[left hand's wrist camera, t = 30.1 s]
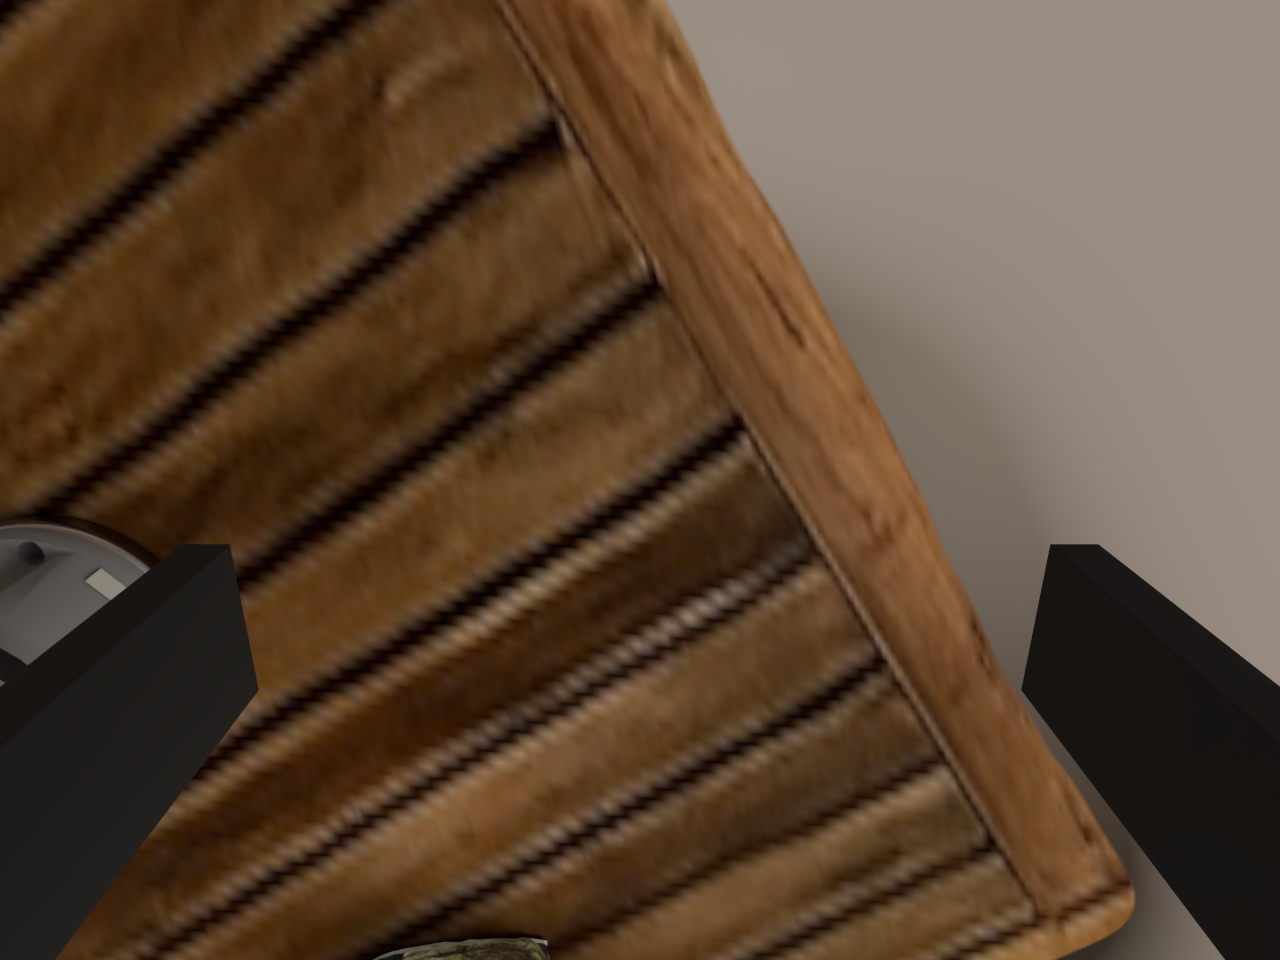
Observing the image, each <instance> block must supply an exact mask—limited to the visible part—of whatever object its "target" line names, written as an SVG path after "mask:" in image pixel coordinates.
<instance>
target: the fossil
mask: <svg viewBox="0 0 1280 960" xmlns="http://www.w3.org/2000/svg"><path fill="white" fill-rule="evenodd" d="M374 960H550V957H549V955H548V952H547V941H546V940H539V939H533V938H524V937H523V938H516V939H507V938H497V939H469V940H466V941H464V942H440V943H434V944H428V945H422V946H416V947H410V948H405V949H401V950H397V951H392V952H390V953H387V954H384V955H381V956H379V957H377V958H375V959H374Z"/></svg>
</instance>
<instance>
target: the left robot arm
mask: <svg viewBox="0 0 1280 960" xmlns="http://www.w3.org/2000/svg"><path fill="white" fill-rule="evenodd" d="M258 690H259V689H258V684H257V679H256V674H255V669H254V664H253V659H252V654H251V649H250V644H249V639H248V634H247V629H246V624H245V619H244V614H243V609H242V604H241V599H240V594H239V589H238V584H237V579H236V574H235V569H234V564H233V559H232V554H231V549H230V544H182V545H180V546H179V547H178V548H176V549H175V550H174V551H173V552H171V553H170V554H169V555H168V556H166V557H165V558H164V559H162V560H161V561H160V560H158V559H157V558H156V557H155V556H154V555H152V554H151V553H149V552H148V551H147V550H145V549H144V548H142V547H141V546H139V545H138V544H136V543H134V542H133V541H131V540H129V539H127V538H125V537H123V536H122V535H120V534H118V533H115V532H113V531H111V530H108V529H106V528H103V527H100V526H97V525H94V524H91V523H88V522H84V521H80V520H76V519H70V518H64V517H55V516H29V517H20V518H15V519H10V520H6V521H3V522H0V960H55V959H56V958H57V956H58V955H59V954H60V952H61V951H62V950H63V948H64V947H65V946H66V944H67V943H68V942H69V940H70V939H71V938H72V936H73V935H74V934H75V932H76V931H77V930H78V928H79V927H80V926H81V924H82V923H83V922H84V920H85V919H86V918H87V917H88V915H89V914H90V913H91V911H92V910H93V909H94V907H95V906H96V905H97V903H98V902H99V901H100V899H101V898H102V897H103V895H104V894H105V893H106V891H107V890H108V889H109V887H110V886H111V885H112V883H113V882H114V881H115V879H116V878H117V877H118V875H119V874H120V873H121V871H122V870H123V869H124V868H125V866H126V865H127V864H128V862H129V861H130V860H131V858H132V857H133V856H134V854H135V853H136V852H137V850H138V849H139V848H140V846H141V845H142V844H143V842H144V841H145V840H146V838H147V837H148V836H149V834H150V833H151V832H152V830H153V829H154V828H155V826H156V825H157V824H158V823H159V821H160V820H161V819H162V817H163V816H164V815H165V813H166V812H167V811H168V809H169V808H170V807H171V805H172V804H173V803H174V801H175V800H176V799H177V797H178V796H179V795H180V793H181V792H182V791H183V789H184V788H185V787H186V785H187V784H188V783H189V781H190V780H191V779H192V778H193V776H194V775H195V774H196V772H197V771H198V770H199V768H200V767H201V766H202V764H203V763H204V762H205V760H206V759H207V758H208V756H209V755H210V754H211V752H212V751H213V750H214V748H215V747H216V746H217V744H218V743H219V742H220V740H221V739H222V738H223V736H224V735H225V734H226V733H227V731H228V730H229V729H230V727H231V726H232V725H233V723H234V722H235V721H236V719H237V718H238V717H239V715H240V714H241V713H242V711H243V710H244V709H245V707H246V706H247V705H248V703H249V702H250V701H251V699H252V698H253V697H254V695H255V694H256V693H257V691H258ZM1021 690H1022V691H1023V693H1024V694H1025V695H1026V697H1027V698H1028V699H1029V701H1030V702H1031V703H1032V705H1033V706H1034V707H1035V709H1036V710H1037V711H1038V713H1039V714H1040V715H1041V717H1042V718H1043V719H1044V721H1045V722H1046V723H1047V725H1048V726H1049V727H1050V729H1051V730H1052V731H1053V733H1054V734H1055V735H1056V736H1057V738H1058V739H1059V740H1060V742H1061V743H1062V744H1063V746H1064V747H1065V748H1066V750H1067V751H1068V752H1069V754H1070V755H1071V756H1072V758H1073V759H1074V760H1075V762H1076V763H1077V764H1078V765H1079V767H1080V768H1081V770H1082V771H1083V772H1084V773H1085V775H1086V776H1087V778H1088V779H1089V780H1090V781H1091V783H1092V784H1093V785H1094V787H1095V788H1096V789H1097V791H1098V792H1099V793H1100V795H1101V796H1102V797H1103V799H1104V800H1105V801H1106V803H1107V804H1108V805H1109V807H1110V808H1111V809H1112V811H1113V812H1114V813H1115V815H1116V816H1117V817H1118V819H1119V820H1120V821H1121V822H1122V824H1123V825H1124V826H1125V828H1126V829H1127V830H1128V832H1129V833H1130V834H1131V836H1132V837H1133V838H1134V840H1135V841H1136V842H1137V844H1138V845H1139V846H1140V848H1141V849H1142V850H1143V852H1144V853H1145V854H1146V856H1147V857H1148V858H1149V860H1150V861H1151V862H1152V864H1153V865H1154V866H1155V868H1156V869H1157V870H1158V871H1159V873H1160V874H1161V875H1162V877H1163V878H1164V879H1165V881H1166V882H1167V883H1168V885H1169V886H1170V887H1171V889H1172V890H1173V891H1174V893H1175V894H1176V895H1177V897H1178V898H1179V899H1180V901H1181V902H1182V903H1183V905H1184V906H1185V907H1186V909H1187V910H1188V911H1189V913H1190V914H1191V915H1192V916H1193V918H1194V919H1195V920H1196V922H1197V923H1198V924H1199V926H1200V927H1201V928H1202V930H1203V931H1204V932H1205V934H1206V935H1207V936H1208V938H1209V939H1210V940H1211V942H1212V943H1213V944H1214V946H1215V947H1216V948H1217V950H1218V951H1219V952H1220V954H1221V955H1222V956H1223V958H1224V959H1225V960H1280V686H1278V685H1277V684H1276V683H1275V682H1273V681H1272V680H1271V679H1269V678H1268V677H1267V676H1265V675H1264V674H1263V673H1262V672H1260V671H1259V670H1258V669H1257V668H1255V667H1254V666H1253V665H1252V664H1250V663H1249V662H1248V661H1246V660H1245V659H1244V658H1243V657H1241V656H1240V655H1239V654H1238V653H1236V652H1235V651H1234V650H1232V649H1231V648H1230V647H1229V646H1227V645H1226V644H1225V643H1223V642H1222V641H1221V640H1220V639H1218V638H1217V637H1216V636H1215V635H1213V634H1212V633H1211V632H1209V631H1208V630H1207V629H1206V628H1204V627H1203V626H1202V625H1200V624H1199V623H1198V622H1197V621H1195V620H1194V619H1193V618H1192V617H1190V616H1189V615H1188V614H1186V613H1185V612H1184V611H1183V610H1181V609H1180V608H1179V607H1178V606H1176V605H1175V604H1174V603H1172V602H1171V601H1170V600H1169V599H1167V598H1166V597H1165V596H1164V595H1162V594H1161V593H1160V592H1158V591H1157V590H1156V589H1155V588H1153V587H1152V586H1151V585H1149V584H1148V583H1147V582H1146V581H1144V580H1143V579H1142V578H1141V577H1139V576H1138V575H1137V574H1135V573H1134V572H1133V571H1132V570H1130V569H1129V568H1128V567H1126V566H1125V565H1124V564H1123V563H1121V562H1120V561H1119V560H1117V559H1116V558H1115V557H1114V556H1112V555H1111V554H1110V553H1109V552H1107V551H1106V550H1105V549H1104V548H1102V547H1101V546H1100V545H1098V544H1051V545H1050V549H1049V554H1048V559H1047V564H1046V569H1045V574H1044V580H1043V584H1042V589H1041V594H1040V599H1039V604H1038V609H1037V614H1036V620H1035V624H1034V629H1033V634H1032V639H1031V644H1030V649H1029V655H1028V660H1027V664H1026V669H1025V674H1024V679H1023V684H1022V689H1021Z"/></svg>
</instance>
